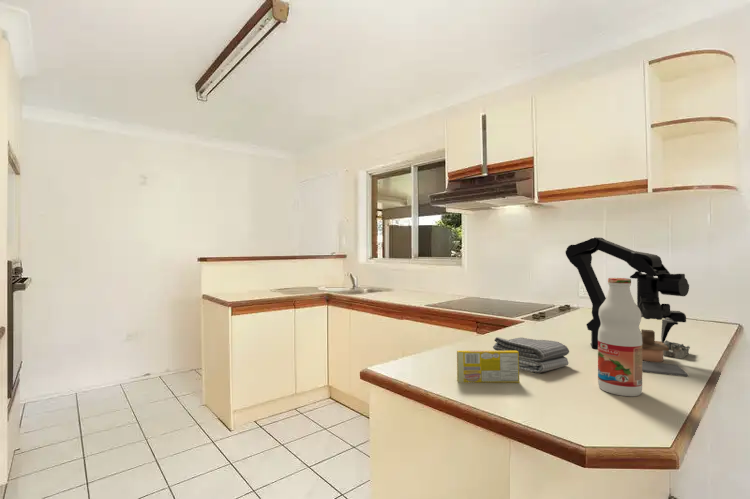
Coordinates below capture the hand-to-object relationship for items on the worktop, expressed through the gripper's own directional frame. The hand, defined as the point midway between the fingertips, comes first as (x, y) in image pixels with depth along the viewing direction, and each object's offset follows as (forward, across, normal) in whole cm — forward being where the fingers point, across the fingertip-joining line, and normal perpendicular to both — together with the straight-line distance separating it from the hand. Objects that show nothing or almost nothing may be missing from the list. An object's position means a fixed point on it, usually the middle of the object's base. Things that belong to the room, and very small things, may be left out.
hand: (647, 341), depth 125 cm
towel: (+6, -35, -22) cm, 42 cm away
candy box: (+6, -44, -44) cm, 63 cm away
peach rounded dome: (+6, 0, 0) cm, 6 cm away
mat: (+6, 0, -12) cm, 13 cm away
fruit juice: (+6, -13, -37) cm, 40 cm away
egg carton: (+6, +9, +10) cm, 15 cm away
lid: (+2, 0, 0) cm, 2 cm away
